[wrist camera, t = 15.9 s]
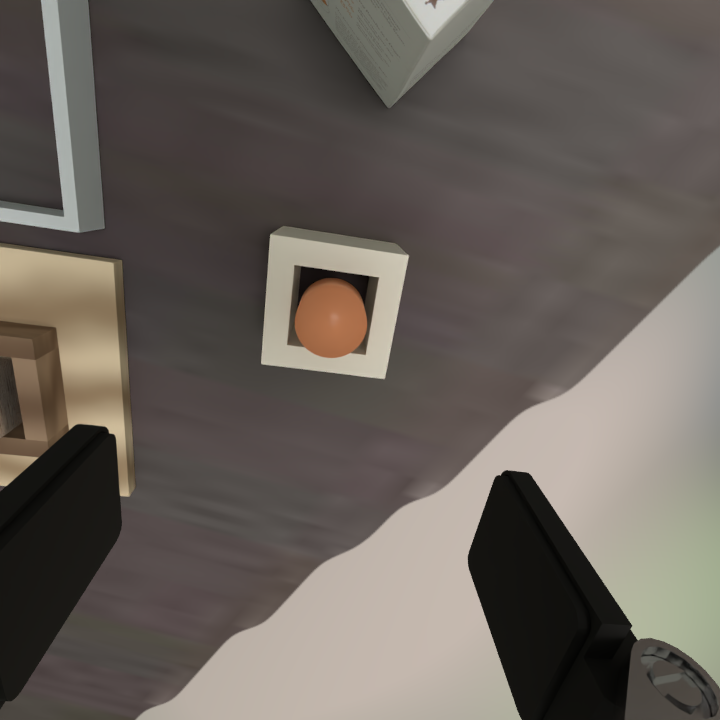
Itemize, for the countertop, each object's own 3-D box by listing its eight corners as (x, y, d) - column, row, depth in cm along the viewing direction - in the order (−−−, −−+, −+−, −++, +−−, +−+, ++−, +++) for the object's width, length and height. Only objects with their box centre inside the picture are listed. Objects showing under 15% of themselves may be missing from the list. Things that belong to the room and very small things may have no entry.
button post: (283, 225, 29) (270, 234, 23) (395, 243, 30) (408, 255, 24) (274, 333, 32) (261, 364, 26) (376, 346, 33) (384, 379, 27)
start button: (302, 273, 25) (298, 283, 22) (368, 282, 25) (372, 294, 22) (296, 335, 26) (291, 353, 23) (358, 344, 26) (361, 362, 24)
